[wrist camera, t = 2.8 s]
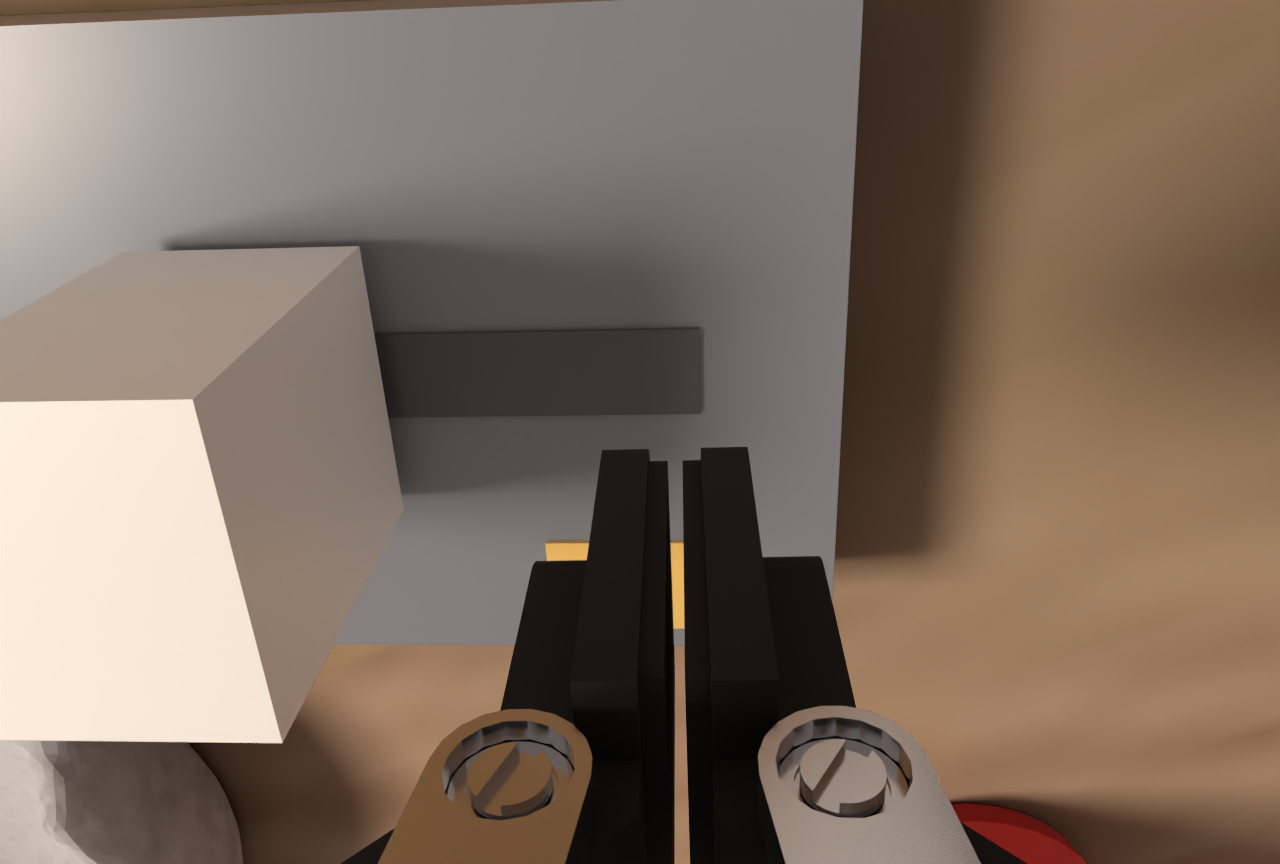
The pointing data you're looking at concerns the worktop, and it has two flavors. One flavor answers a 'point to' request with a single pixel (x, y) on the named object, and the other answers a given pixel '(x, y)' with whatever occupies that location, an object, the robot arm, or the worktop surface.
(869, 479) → the worktop surface
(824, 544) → the breaker panel
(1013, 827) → the canned food
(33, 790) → the dish
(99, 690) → the block
